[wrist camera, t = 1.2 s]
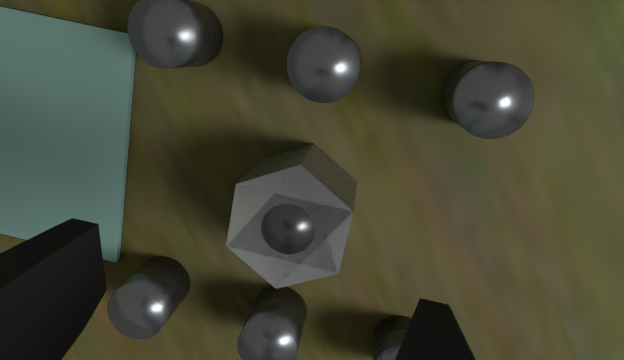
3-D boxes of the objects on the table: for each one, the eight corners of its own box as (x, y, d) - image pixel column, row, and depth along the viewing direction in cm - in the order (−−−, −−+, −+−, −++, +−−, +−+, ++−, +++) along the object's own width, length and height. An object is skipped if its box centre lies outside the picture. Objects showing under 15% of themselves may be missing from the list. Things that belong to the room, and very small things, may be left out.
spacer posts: (419, 368, 22) (426, 416, 19) (139, 296, 23) (105, 330, 20) (517, 68, 18) (545, 70, 15) (167, -4, 19) (130, -15, 16)
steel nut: (339, 257, 21) (331, 303, 17) (248, 235, 21) (221, 275, 17) (363, 154, 19) (361, 178, 15) (266, 132, 20) (240, 150, 16)
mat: (119, 259, 22) (116, 262, 22) (-8, 227, 23) (-13, 229, 23) (137, 35, 19) (133, 35, 19) (-12, 3, 20) (-17, 2, 19)
